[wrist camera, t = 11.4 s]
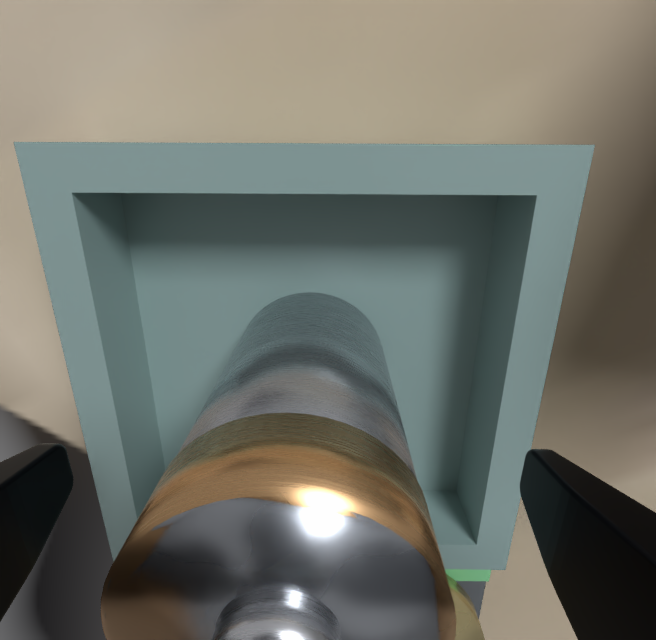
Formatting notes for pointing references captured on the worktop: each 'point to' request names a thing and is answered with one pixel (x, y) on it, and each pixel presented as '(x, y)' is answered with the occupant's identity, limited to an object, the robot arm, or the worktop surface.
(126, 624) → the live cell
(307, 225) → the teal shallow square tray
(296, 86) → the worktop surface
